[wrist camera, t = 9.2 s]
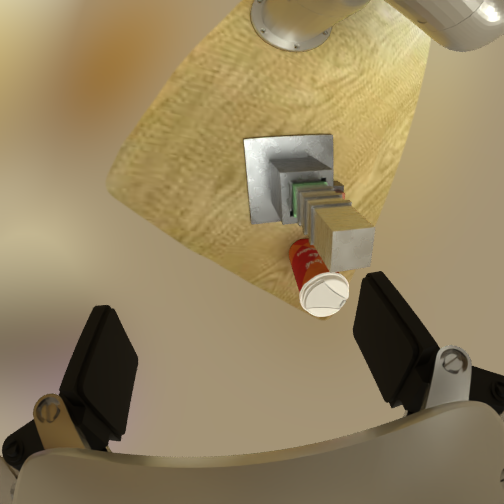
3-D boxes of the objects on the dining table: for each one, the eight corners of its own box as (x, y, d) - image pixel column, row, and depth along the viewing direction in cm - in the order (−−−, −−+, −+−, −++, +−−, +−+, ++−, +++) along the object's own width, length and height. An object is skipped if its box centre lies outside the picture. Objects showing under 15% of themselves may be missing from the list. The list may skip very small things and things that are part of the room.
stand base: (243, 138, 41) (250, 149, 31) (330, 134, 41) (361, 144, 32) (250, 222, 48) (259, 254, 38) (330, 213, 48) (355, 242, 39)
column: (284, 175, 38) (330, 229, 22) (315, 173, 38) (377, 224, 23) (286, 204, 40) (328, 275, 24) (315, 202, 40) (371, 268, 25)
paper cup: (330, 241, 51) (361, 285, 39) (310, 274, 54) (333, 323, 42) (294, 226, 49) (318, 270, 37) (275, 262, 52) (291, 312, 40)
